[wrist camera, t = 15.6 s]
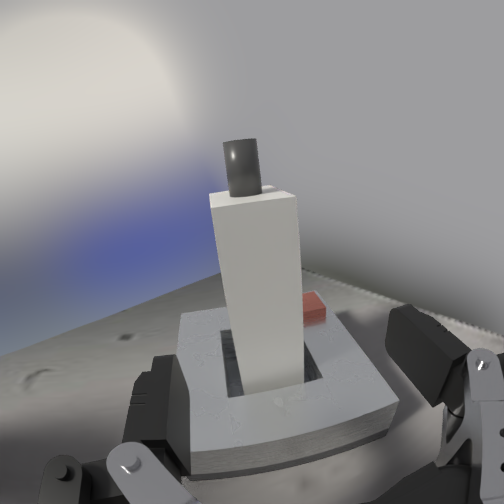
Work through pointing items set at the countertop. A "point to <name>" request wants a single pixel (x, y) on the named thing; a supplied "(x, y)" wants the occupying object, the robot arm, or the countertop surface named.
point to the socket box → (278, 398)
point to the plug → (260, 272)
